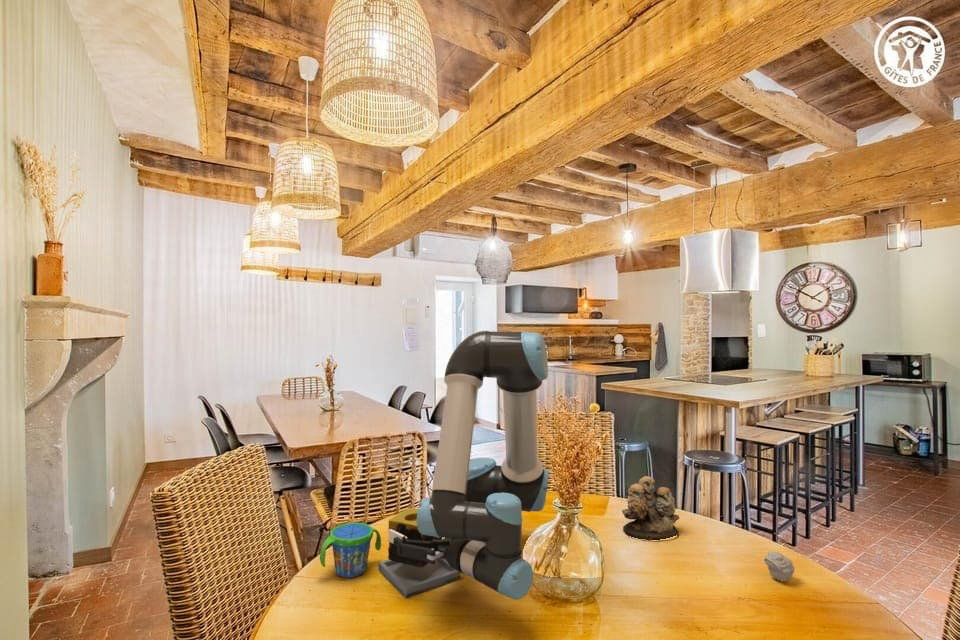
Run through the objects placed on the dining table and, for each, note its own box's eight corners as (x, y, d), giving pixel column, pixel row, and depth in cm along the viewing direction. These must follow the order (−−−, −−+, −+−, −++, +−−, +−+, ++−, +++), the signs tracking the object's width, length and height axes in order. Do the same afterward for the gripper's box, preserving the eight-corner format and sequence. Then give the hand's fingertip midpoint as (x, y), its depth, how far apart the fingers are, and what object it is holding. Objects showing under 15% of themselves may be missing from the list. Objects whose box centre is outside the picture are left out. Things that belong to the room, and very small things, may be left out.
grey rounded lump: (757, 575, 122) (758, 548, 122) (780, 572, 123) (780, 545, 123) (778, 588, 116) (778, 559, 116) (801, 585, 117) (801, 556, 117)
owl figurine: (632, 544, 138) (632, 484, 139) (613, 527, 150) (613, 472, 150) (687, 539, 142) (687, 481, 142) (665, 523, 153) (665, 470, 154)
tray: (429, 554, 130) (429, 547, 130) (460, 578, 117) (460, 570, 118) (378, 570, 121) (378, 562, 121) (405, 598, 109) (406, 589, 109)
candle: (443, 552, 122) (443, 512, 123) (422, 569, 113) (423, 527, 113) (409, 544, 127) (410, 506, 127) (386, 560, 117) (387, 519, 118)
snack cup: (373, 554, 129) (373, 517, 129) (388, 572, 120) (389, 531, 120) (313, 570, 120) (314, 529, 120) (325, 590, 111) (326, 546, 112)
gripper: (428, 594, 98) (369, 558, 113) (505, 555, 115) (445, 528, 130) (428, 557, 98) (369, 526, 113) (506, 524, 115) (446, 501, 130)
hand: (410, 527), depth 122 cm, fingers closed on candle, 12 cm apart
